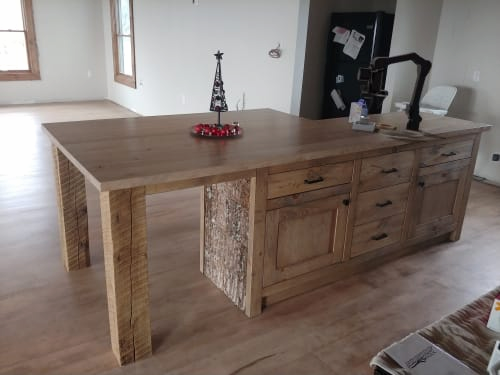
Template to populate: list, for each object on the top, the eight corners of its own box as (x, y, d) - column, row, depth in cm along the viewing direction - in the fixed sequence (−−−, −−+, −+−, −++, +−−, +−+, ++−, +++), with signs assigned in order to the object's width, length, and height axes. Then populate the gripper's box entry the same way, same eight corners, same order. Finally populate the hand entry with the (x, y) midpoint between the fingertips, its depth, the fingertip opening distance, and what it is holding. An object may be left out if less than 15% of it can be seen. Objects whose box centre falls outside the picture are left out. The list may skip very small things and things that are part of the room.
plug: (369, 130, 252) (371, 117, 250) (361, 129, 251) (362, 117, 249) (366, 128, 256) (367, 116, 254) (357, 128, 256) (359, 115, 253)
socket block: (394, 128, 263) (395, 125, 262) (393, 131, 254) (394, 127, 253) (377, 126, 266) (377, 123, 266) (375, 129, 257) (375, 125, 257)
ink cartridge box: (366, 125, 270) (369, 100, 265) (359, 125, 267) (362, 100, 263) (355, 121, 278) (358, 98, 273) (348, 122, 275) (351, 98, 271)
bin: (374, 129, 257) (375, 122, 256) (372, 133, 247) (373, 126, 246) (354, 127, 261) (355, 120, 259) (352, 130, 251) (352, 123, 249)
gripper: (373, 78, 261) (370, 105, 266) (354, 80, 249) (351, 108, 254) (390, 80, 253) (387, 108, 258) (371, 82, 241) (368, 111, 246)
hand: (373, 109), depth 254 cm, fingers open, 9 cm apart
